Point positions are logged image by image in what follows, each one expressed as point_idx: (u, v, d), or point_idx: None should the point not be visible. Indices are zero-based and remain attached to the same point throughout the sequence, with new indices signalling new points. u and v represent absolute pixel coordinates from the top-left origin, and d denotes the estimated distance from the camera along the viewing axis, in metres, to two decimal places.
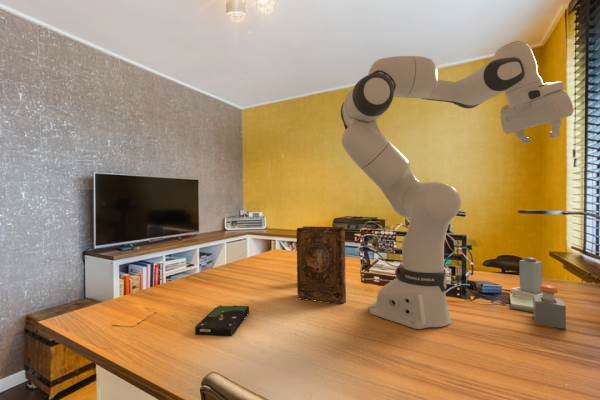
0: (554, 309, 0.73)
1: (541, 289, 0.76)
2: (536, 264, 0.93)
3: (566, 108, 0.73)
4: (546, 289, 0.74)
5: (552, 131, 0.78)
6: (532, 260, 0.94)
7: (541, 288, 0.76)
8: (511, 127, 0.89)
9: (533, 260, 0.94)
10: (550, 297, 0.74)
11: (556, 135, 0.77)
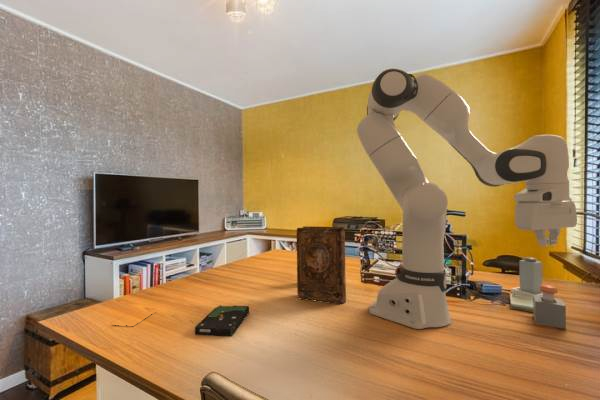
0: (554, 309, 0.73)
1: (541, 289, 0.76)
2: (536, 264, 0.93)
3: (521, 221, 0.72)
4: (546, 289, 0.74)
5: None
6: (532, 260, 0.94)
7: (541, 288, 0.76)
8: None
9: (533, 260, 0.94)
10: (550, 297, 0.74)
11: (540, 243, 0.75)
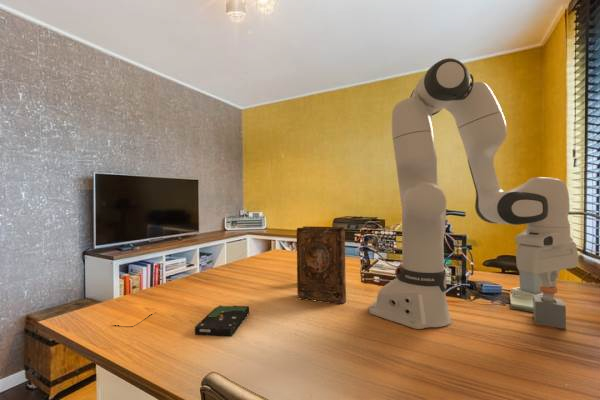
0: (554, 309, 0.73)
1: (541, 289, 0.76)
2: None
3: (523, 265, 0.72)
4: (546, 289, 0.74)
5: None
6: None
7: (541, 288, 0.76)
8: None
9: None
10: (550, 297, 0.74)
11: (544, 285, 0.75)
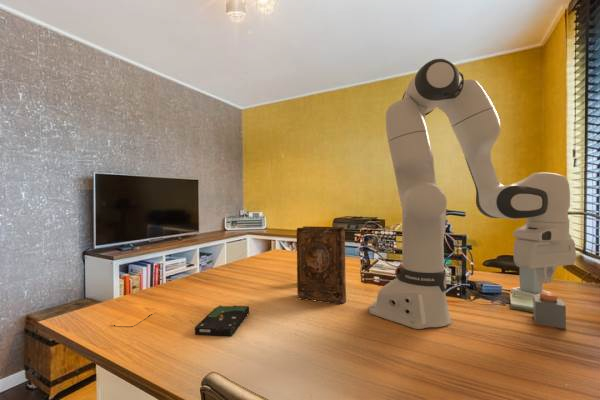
0: (554, 309, 0.73)
1: (541, 297, 0.76)
2: None
3: (520, 259, 0.72)
4: (546, 297, 0.74)
5: None
6: None
7: (541, 296, 0.76)
8: None
9: None
10: None
11: (540, 280, 0.75)
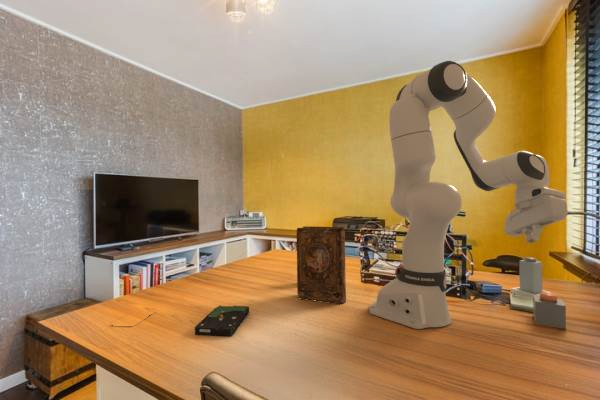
0: (554, 309, 0.73)
1: (541, 297, 0.76)
2: (536, 264, 0.93)
3: (560, 209, 0.77)
4: (546, 297, 0.74)
5: (532, 233, 0.83)
6: (532, 260, 0.94)
7: (541, 296, 0.76)
8: (512, 226, 0.92)
9: (533, 260, 0.94)
10: None
11: (535, 238, 0.82)
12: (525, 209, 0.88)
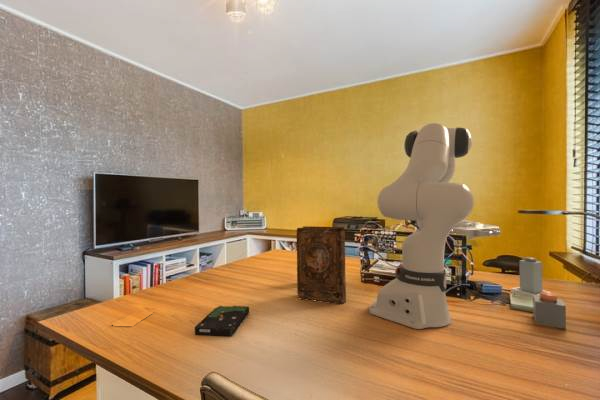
0: (554, 309, 0.73)
1: (541, 297, 0.76)
2: (536, 264, 0.93)
3: None
4: (546, 297, 0.74)
5: (495, 230, 1.09)
6: (532, 260, 0.94)
7: (541, 296, 0.76)
8: (469, 228, 1.11)
9: (533, 260, 0.94)
10: None
11: None
12: (470, 226, 1.16)
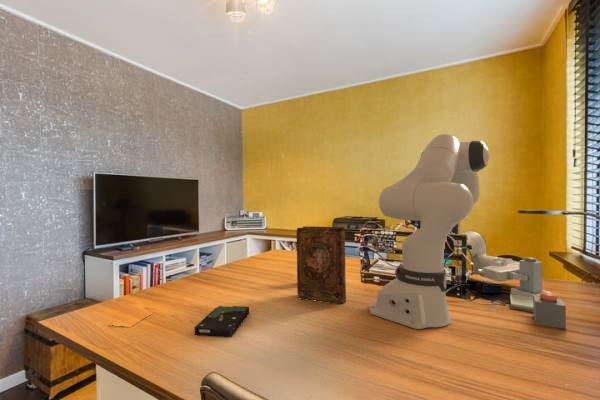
0: (554, 309, 0.73)
1: (541, 297, 0.76)
2: (536, 264, 0.93)
3: None
4: (546, 297, 0.74)
5: None
6: (532, 260, 0.94)
7: (541, 296, 0.76)
8: (502, 269, 0.98)
9: (533, 260, 0.94)
10: None
11: None
12: (502, 265, 1.04)
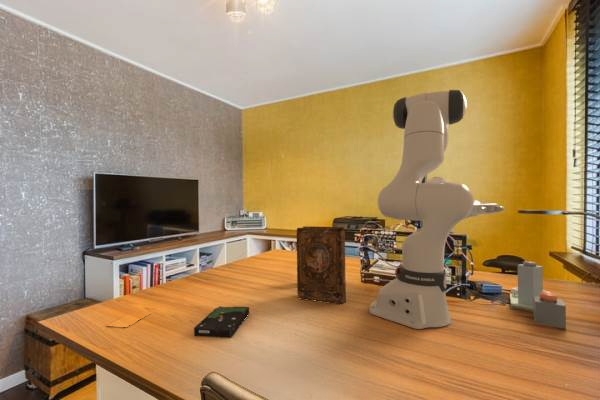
0: (554, 309, 0.73)
1: (541, 297, 0.76)
2: (536, 269, 0.84)
3: None
4: (546, 297, 0.74)
5: (498, 206, 1.01)
6: (532, 265, 0.85)
7: (541, 296, 0.76)
8: None
9: (533, 265, 0.85)
10: None
11: None
12: None
